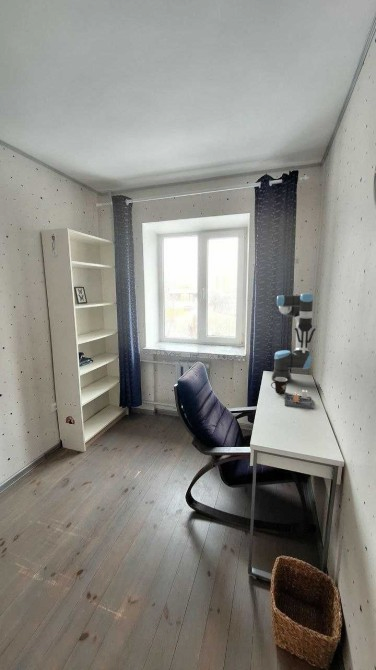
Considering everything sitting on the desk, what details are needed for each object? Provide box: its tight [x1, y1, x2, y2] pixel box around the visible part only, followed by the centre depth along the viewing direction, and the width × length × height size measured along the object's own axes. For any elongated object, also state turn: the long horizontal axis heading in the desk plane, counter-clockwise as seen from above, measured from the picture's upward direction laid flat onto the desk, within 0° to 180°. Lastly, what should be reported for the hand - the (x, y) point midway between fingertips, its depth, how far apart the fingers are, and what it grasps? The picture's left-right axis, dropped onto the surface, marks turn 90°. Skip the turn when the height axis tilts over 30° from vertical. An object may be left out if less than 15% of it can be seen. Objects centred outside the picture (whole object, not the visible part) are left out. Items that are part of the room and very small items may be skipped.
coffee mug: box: [270, 377, 288, 395], centre depth 191 cm, size 12×9×10 cm
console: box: [284, 393, 313, 410], centre depth 176 cm, size 14×16×3 cm
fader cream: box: [301, 389, 308, 399], centre depth 177 cm, size 3×3×5 cm
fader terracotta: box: [293, 392, 300, 402], centre depth 172 cm, size 3×3×5 cm
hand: (303, 352), depth 181 cm, fingers closed
